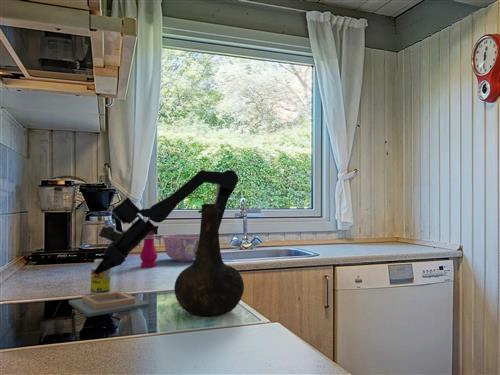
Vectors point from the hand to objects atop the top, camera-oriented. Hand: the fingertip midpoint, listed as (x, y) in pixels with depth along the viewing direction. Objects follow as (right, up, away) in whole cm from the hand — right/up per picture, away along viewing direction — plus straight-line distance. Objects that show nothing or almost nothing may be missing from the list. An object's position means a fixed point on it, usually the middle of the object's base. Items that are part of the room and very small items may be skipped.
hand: (96, 271), depth 121 cm
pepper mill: (+3, -9, +50) cm, 51 cm away
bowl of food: (+15, -9, +68) cm, 71 cm away
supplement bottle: (+1, -7, 0) cm, 7 cm away
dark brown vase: (+36, -7, -19) cm, 42 cm away
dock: (+8, -6, -13) cm, 17 cm away
